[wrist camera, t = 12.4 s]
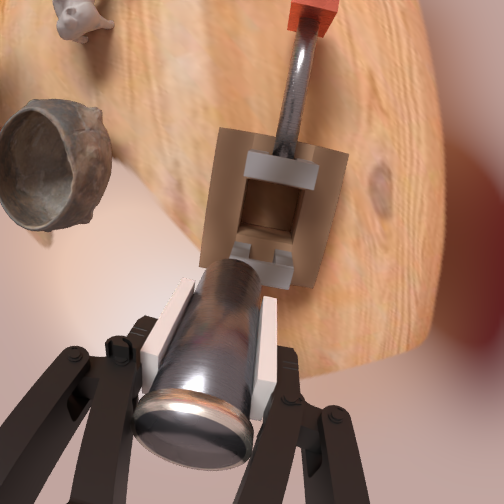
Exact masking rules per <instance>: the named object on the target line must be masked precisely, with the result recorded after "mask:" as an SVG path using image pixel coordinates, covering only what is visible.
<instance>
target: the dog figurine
mask: <svg viewBox="0 0 504 504" xmlns="http://www.w3.org/2000/svg"><path fill="white" fill-rule="evenodd" d="M94 3H95V0H53V6H54V10H55V12H56V15H57V17H58V19H59V20H58V21H57V31H58V33H59V35H60V37H61V38H62V39H64V40H72V41H75V42H79V43H82V44H84V43H86V42H88V37H87V36H83V34H85V33H87V32H90V31H94V30H96V29H100V28H104V29H107V30H109V29H112V28H113V27H114V21H113V20H110V21H108V20H106V19H105V18H103V17H102V16H100V14H99V13H98V11H97V9H96V7H95V6H94Z"/></svg>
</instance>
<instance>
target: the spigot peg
mask: <svg viewBox="0 0 504 504" xmlns="http://www.w3.org/2000/svg"><path fill="white" fill-rule="evenodd" d="M260 300H261V281H260V278H259V275H258V274H257V272H256V271H255V270H254V269H253V268H252V267H251V266H250V265H249V264H247V263H245V262H243V261H241V260H237V259H222V260H218V261H216V262H214V263H212V264H211V265H210V266H209V267H208V268H207V269H206V270H205V272H204V274H203V276H202V278H201V280H200V282H199V284H198V286H197V288H196V290H195V292H194V294H193V296H192V299H191V301H190V303H189V305H188V307H187V309H186V311H185V313H184V315H183V318H182V320H181V322H180V324H179V326H178V328H177V331H176V333H175V335H174V337H173V339H172V341H171V344H170V346H169V348H168V350H167V352H166V355H165V357H164V359H163V361H162V363H161V366H160V368H159V370H158V372H157V374H156V377H155V379H154V381H153V383H152V386H151V388H150V390H149V393H147V394H145V395H144V396H143V397H142V398H141V399H140V400H139V402H138V404H137V406H136V408H135V411H134V413H133V415H132V417H131V420H130V428H131V431H132V433H133V435H134V437H135V438H136V439H137V441H138V442H139V443H140V444H141V445H142V446H143V447H145V448H146V449H147V450H148V451H150V452H151V453H153V454H154V455H156V456H158V457H160V458H162V459H164V460H166V461H168V462H171V463H173V464H176V465H179V466H183V467H187V468H191V469H197V470H206V471H219V470H227V469H231V468H235V467H238V466H240V465H242V464H244V463H245V462H246V461H247V460H248V459H249V458H250V456H251V454H252V447H253V435H254V430H253V426H252V424H251V422H250V421H249V420H250V409H251V399H252V388H253V377H254V367H255V356H256V345H257V334H258V323H259V312H260Z"/></svg>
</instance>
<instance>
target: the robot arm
mask: <svg viewBox="0 0 504 504" xmlns="http://www.w3.org/2000/svg"><path fill="white" fill-rule="evenodd" d="M194 287H195V280H191V279H187V278H182V279H181V281H180V283H179V284H178V286H177V288H176V290H175V291H174V293H173V295H172V296H171V298H170V300H169V301H168V303H167V305H166V307H165V308H164V310H163V312H162V313H161V315H160V317H159V319H156V318H152V317H149V316H144V317H142V318H140V319H138V320H137V322H136V323H135V325H134V326H133V328H132V329H131V331H130V333H129V334H128V335H127V337H125V336H113V337H111V338H109V339H107V341H106V342H105V348H106V357H95V356H89V353H88V352H87V350H86V349H84V348H83V347H79V346H70V347H67V348H66V349H64V350H63V351H62V352H61V354H60V355H59V356H58V357H57V358H56V359H55V360H54V362H53V363H52V364H51V365H50V366H49V367H48V368H47V370H46V371H45V372H44V373H43V374H42V376H41V377H40V378H39V379H38V380H37V381H36V383H35V384H34V385H33V386H32V387H31V389H30V390H29V391H28V392H27V394H26V395H25V396H24V397H23V399H22V400H21V401H20V402H19V403H18V405H17V406H16V407H15V408H14V410H13V411H12V412H11V414H10V415H9V416H8V417H7V419H6V420H5V422H4V423H3V424H2V425H1V427H0V504H34V502H35V500H36V498H37V497H38V495H39V493H40V491H41V490H42V488H43V486H44V484H45V482H46V481H47V479H48V477H49V475H50V474H51V472H52V470H53V468H54V467H55V465H56V463H57V461H58V460H59V458H60V456H61V455H62V453H63V451H64V449H65V448H66V446H67V445H68V443H69V441H70V440H71V438H72V436H73V435H74V433H75V431H76V430H77V428H78V427H79V425H80V423H81V421H82V420H83V419H84V417H85V415H86V414H87V412H88V410H89V408H90V407H91V409H90V413H89V416H88V420H87V424H86V428H85V431H84V435H83V439H82V443H81V447H80V452H79V456H78V460H77V465H76V470H75V475H74V479H73V485H72V490H71V495H70V500H69V502H68V503H67V504H126V494H127V482H128V473H129V464H130V456H131V448H132V440H133V433H132V431H131V428H130V420H131V417H132V415H133V413H134V411H135V408H136V406H137V404H138V400H139V399H138V393H139V391H140V389H141V387H142V393H144V394H147V393H149V390H150V388H151V386H152V383H153V381H154V379H155V377H156V374H157V372H158V370H159V368H160V366H161V363H162V361H163V359H164V357H165V355H166V352H167V350H168V348H169V346H170V344H171V341H172V339H173V337H174V335H175V333H176V331H177V328H178V326H179V324H180V322H181V320H182V318H183V315H184V313H185V311H186V309H187V307H188V305H189V303H190V301H191V299H192V296H193V294H194ZM262 417H263V424H262V426H261V428H260V431H259V433H258V435H257V440H256V443H255V445H254V448H253V451H252V454H251V456H250V459H249V462H248V465H247V467H246V470H245V473H244V476H243V478H242V481H241V484H240V486H239V489H238V492H237V494H236V497H235V499H234V502H233V504H282V501H283V497H284V494H285V490H286V486H287V482H288V478H289V474H290V470H291V466H292V462H293V458H294V453H295V449H296V446H298V447H300V448H301V453H302V464H303V476H304V488H305V500H306V504H370V501H369V496H368V491H367V486H366V482H365V477H364V472H363V468H362V463H361V459H360V454H359V450H358V446H357V442H356V437H355V433H354V430H353V425H352V421H351V417H350V415H349V413H348V412H347V411H346V410H345V409H344V408H342V407H340V406H335V405H331V406H327V407H325V408H324V409H320V408H317V407H314V406H312V405H310V404H308V403H307V402H306V401H305V399H304V397H303V396H302V394H301V393H300V382H299V371H298V356H297V354H296V352H295V351H294V349H293V348H288V347H283V346H277V298H272V297H267V296H264V297H263V300H262V304H261V308H260V312H259V323H258V334H257V345H256V356H255V367H254V377H253V388H252V399H251V409H250V419H252V420H259V421H261V420H262Z"/></svg>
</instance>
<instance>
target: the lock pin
mask: <svg viewBox="0 0 504 504" xmlns="http://www.w3.org/2000/svg"><path fill="white" fill-rule="evenodd" d="M338 5H339V0H292V1H291V8H290V15H289V21H288V28H287V30H290V31H295V32H296V37H295V42H294V47H293V52H292V57H291V62H290V67H289V73H288V78H287V83H286V88H285V93H284V98H283V103H282V108H281V113H280V118H279V123H278V128H277V133H276V138H275V143H274V149H273V154H272V155H274V156H279V157H283V158H288V159H294V154H295V149H296V144H297V139H298V135H299V130H300V125H301V120H302V115H303V110H304V105H305V100H306V94H307V89H308V84H309V79H310V74H311V69H312V63H313V58H314V53H315V47H316V42H317V36H318V37H322V38H323V37H324V35H325V33H326V32H327V30H328V28H329V26H330V24H331V23H332V21H333V19H334V17H335V15H336V14H337V11H338Z"/></svg>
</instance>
